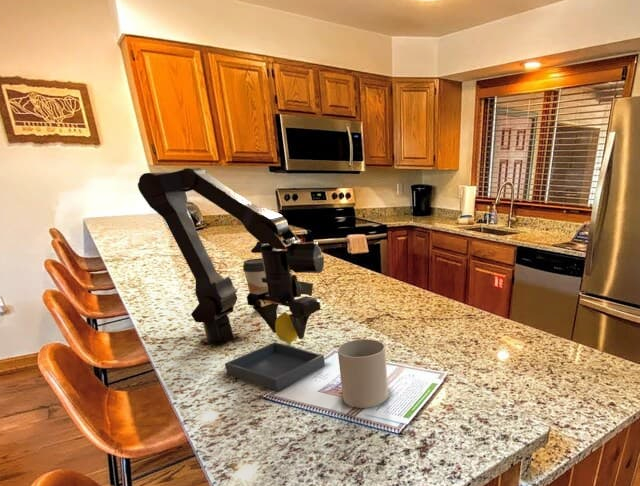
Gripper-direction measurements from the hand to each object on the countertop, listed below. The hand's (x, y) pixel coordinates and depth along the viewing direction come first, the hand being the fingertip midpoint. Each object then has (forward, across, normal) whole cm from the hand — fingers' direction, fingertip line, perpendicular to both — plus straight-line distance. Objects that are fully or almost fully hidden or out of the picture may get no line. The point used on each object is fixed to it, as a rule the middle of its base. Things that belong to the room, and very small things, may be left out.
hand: (288, 335), depth 104 cm
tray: (+2, -9, +12) cm, 15 cm away
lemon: (+2, 0, 0) cm, 2 cm away
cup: (+2, -33, +12) cm, 35 cm away
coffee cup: (+2, +26, -15) cm, 30 cm away
